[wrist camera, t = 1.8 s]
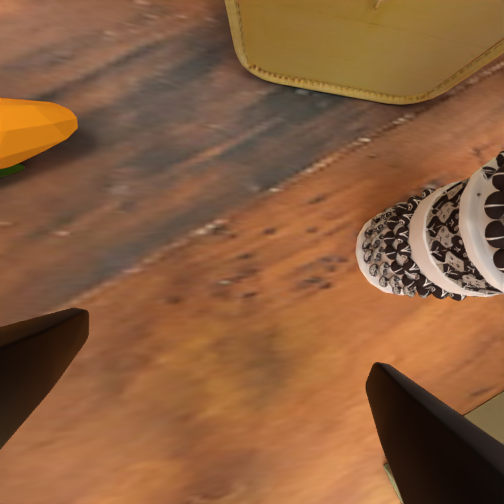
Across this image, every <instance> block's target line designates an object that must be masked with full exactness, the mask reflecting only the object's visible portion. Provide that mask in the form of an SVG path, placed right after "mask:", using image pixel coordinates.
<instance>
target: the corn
mask: <svg viewBox="0 0 504 504" xmlns="http://www.w3.org/2000/svg"><path fill="white" fill-rule="evenodd" d="M77 128H78V126H77V118H76V116H75V115H74V114H73V113H72V112H71V110H70V109H68V108H65V107H62V106H60V105H57V104H55V103H52V102H43V101H32V100H21V99H10V98H0V177H3V176H7V175H10V174H14V173H17V172H20V171H22V170H23V169H24V165H21V164H18V163H20V162H22V161H24V160H26V159H29V158H31V157H33V156H35V155H37V154H39V153H41V152H43V151H45V150H47V149H49V148H51V147H53V146H55V145H56V144H58V143H60V142H62V141H64V140H66V139H67V138H68V137H69V136H70V135H71V134H72V133H73V132H74V131H75V130H76V129H77Z"/></svg>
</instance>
